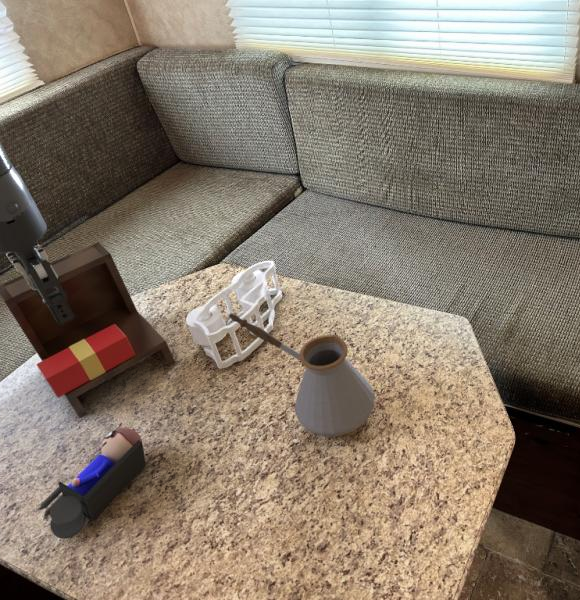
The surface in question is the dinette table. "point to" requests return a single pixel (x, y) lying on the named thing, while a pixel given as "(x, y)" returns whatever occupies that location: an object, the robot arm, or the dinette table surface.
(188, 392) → the dinette table surface
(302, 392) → the coffee pot
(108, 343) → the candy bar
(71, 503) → the character figurine
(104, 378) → the shelf rack
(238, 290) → the car outline toy
